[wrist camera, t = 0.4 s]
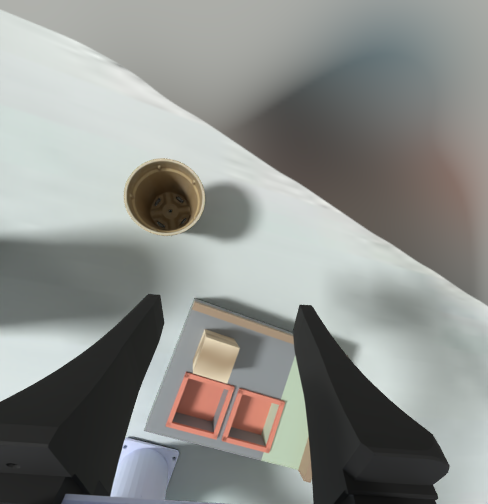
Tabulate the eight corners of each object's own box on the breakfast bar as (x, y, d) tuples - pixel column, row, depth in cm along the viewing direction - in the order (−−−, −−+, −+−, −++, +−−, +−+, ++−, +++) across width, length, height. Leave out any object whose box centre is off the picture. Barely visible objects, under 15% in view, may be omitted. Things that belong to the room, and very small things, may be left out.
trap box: (296, 456, 41) (310, 482, 36) (147, 417, 37) (141, 440, 32) (330, 345, 43) (347, 355, 38) (194, 298, 39) (194, 302, 34)
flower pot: (207, 190, 40) (212, 169, 32) (195, 248, 40) (196, 242, 31) (146, 175, 39) (133, 149, 30) (132, 235, 38) (115, 225, 29)
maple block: (222, 369, 36) (227, 383, 32) (192, 360, 35) (192, 373, 31) (234, 338, 37) (239, 348, 32) (204, 328, 36) (206, 337, 32)
